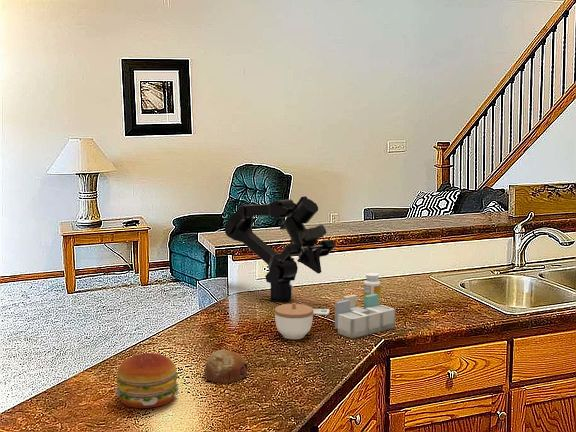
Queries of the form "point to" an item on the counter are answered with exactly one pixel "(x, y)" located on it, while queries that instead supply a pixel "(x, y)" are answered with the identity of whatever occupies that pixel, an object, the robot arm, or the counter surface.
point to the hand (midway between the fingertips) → (319, 272)
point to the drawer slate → (343, 310)
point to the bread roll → (225, 367)
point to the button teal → (373, 302)
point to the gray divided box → (366, 322)
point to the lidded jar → (293, 320)
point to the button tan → (355, 304)
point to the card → (321, 311)
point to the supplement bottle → (372, 285)
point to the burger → (146, 380)
